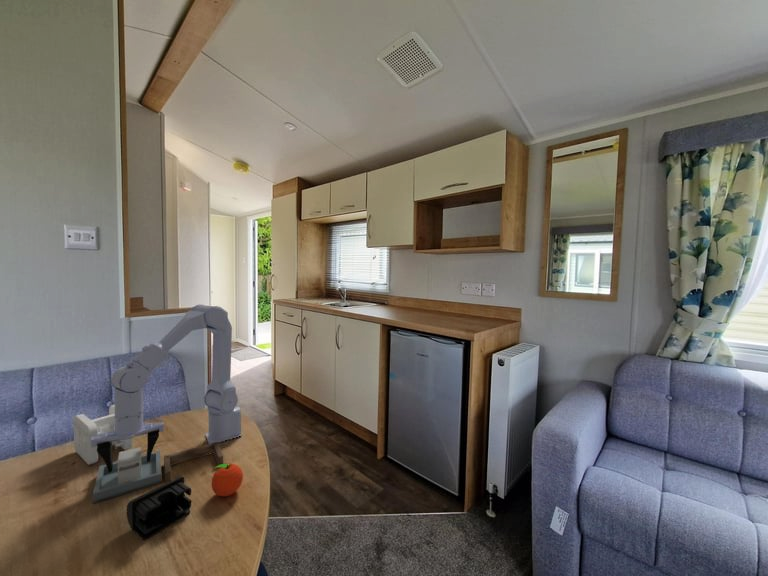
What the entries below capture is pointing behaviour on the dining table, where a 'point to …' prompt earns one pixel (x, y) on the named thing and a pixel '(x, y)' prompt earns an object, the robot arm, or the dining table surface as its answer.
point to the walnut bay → (191, 457)
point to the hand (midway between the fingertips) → (129, 464)
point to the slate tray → (109, 484)
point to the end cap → (159, 508)
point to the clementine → (227, 479)
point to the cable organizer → (94, 434)
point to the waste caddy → (129, 465)
